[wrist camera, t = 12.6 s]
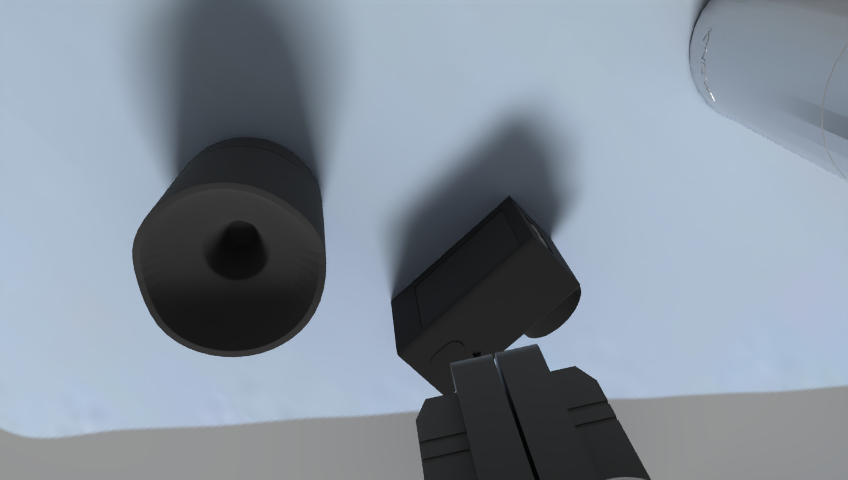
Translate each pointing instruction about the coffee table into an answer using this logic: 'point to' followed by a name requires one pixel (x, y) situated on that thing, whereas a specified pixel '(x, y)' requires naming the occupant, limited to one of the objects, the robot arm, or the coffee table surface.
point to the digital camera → (484, 296)
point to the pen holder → (234, 250)
